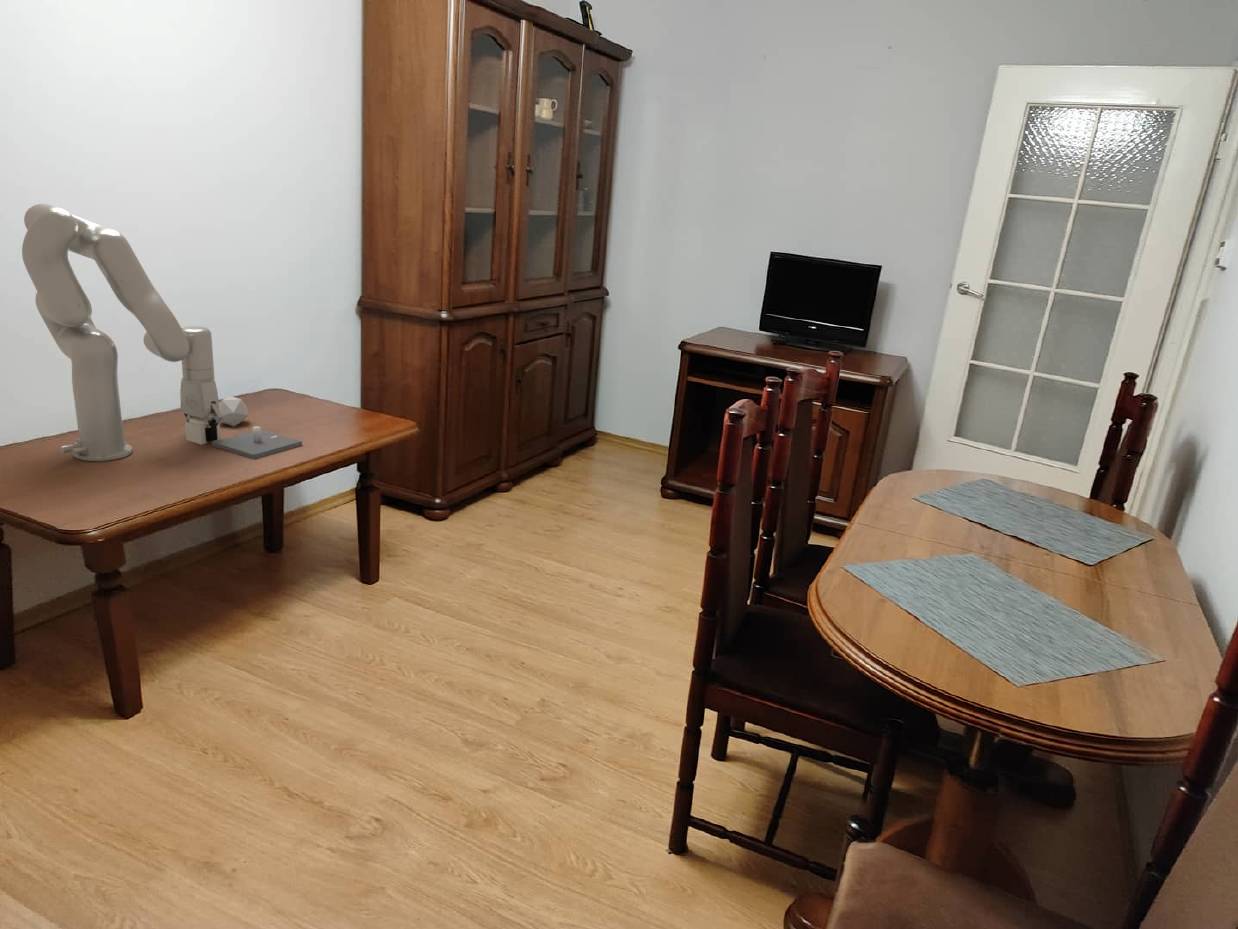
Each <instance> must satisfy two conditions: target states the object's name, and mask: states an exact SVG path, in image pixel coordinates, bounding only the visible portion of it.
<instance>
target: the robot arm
mask: <svg viewBox="0 0 1238 929" xmlns="http://www.w3.org/2000/svg"><path fill="white" fill-rule="evenodd" d="M23 221H24V226H25V228H26V230H27V231H26V233H25V235H24V238H23V242H22V247H21V256H22V257H21V258H22V261H23V264H24V267H25V269H26V272H27V273H28V276H29V278H30V279H31V282H32V285H34V287H35V290H36V291H37V292H36V294H35V300H34V301H35V305H36V309H37V311H38V313H39V315H40V316H41V319H42V320H43V323H44V324H45V326H46V327H47V329H48V331H49V333H50V334H51V337H52V338H53V340H54V341H55V343H56V345H57V346H58V348H59V350H60V351H61V352H62V353H63V355H64V356H66V357H67V358H69V359H70V362H71V387H72V393H73V394H72V395H73V400H74V408H75V415H76V422H77V423H76V424H77V430H78V437H76V438H74V442H72V443H71V444H66V445H61V446H59V447H58V451H59V453H60V454H61V455H64V454H68V453H71V454H72V455H73V457H74V458H76V459H78V460H81V461H88V462H106V461H114V460H118V459H122V458H125V457H129V456H130V455H131V454H132V453H133V447H132V446H131V444H128V443H126V442H125V437H124V428H123V426H124V425H123V420H122V419H123V417H122V409H121V399H120V398H121V397H120V392H119V390H120V389H119V381H118V380H119V379H118V377H119V376H118V364H119V362H118V361H119V360H118V358H119V356H118V354H119V353H118V349H117V346H116V344H115V342H114V340H113V339H112V338H111V337H110V336H109V335H108V334H106V333H105V332H103V331H102V330H100V329H98V328H97V327H96V325H95V323H94V322H93V319H92V315H93V314H92V312H93V308H92V307H93V306H92V304H91V302H90V299H89V298H88V296H87V294H86V293H85V291H84V289H83V287H82V285H81V284H80V282H79V280H78V278H77V276H76V275H75V272H74V269H73V268H72V266H71V263H70V260H69V255H68V253H69V252H72V253H74V254H77V255H80V256H82V257H85V258H88V259H91V260H94V261H95V263H96V265H97V267H98V268H99V270H100V271H101V273H102V275H103V276H104V278H105V280H106V281H107V283H108V284H109V287H110V288H111V291H112V292H113V293H114V295H115V297H116V298H117V300H118V301H119V302H120V304H122V305H123V307H124V308H126V310H127V311H129V312H130V313H131V314H132V315H133V316H134V317H135V318H136V319H137V320H138V322H139V323H140V324H141V325H142V327H143V329H144V330H145V331H146V332H145V333H144V335H143V344H144V346H145V349H146V350H148V351H149V352H150V353H151V354H153V355H155V356H157V357H159V358H161V359H162V360H164V361H168V362H171V363H178V362H180V361H181V369H182V370H181V371H182V377H181V381H180V389H179V390H180V391H179V394H180V398H179V399H180V410H181V412H182V413H183V414H184V416H185V418H186V421H185V422H189V421H190V419H189V418H190V417H192V416H195V417H198V418H204V420H205V423H206V426H207V428H205V434H206V442H210V443H212V442H211V441H215V440H217V439H218V437H217V426H218V424H219V423H220V422H221V421H220V420H221V419H222V418H223V416H222V414H221V412H220V411H219V403H220V399H219V394H218V388H217V383H216V378H215V366H214V354H213V353H214V352H213V351H214V350H213V338H212V332H211V330H210V329H209V327H204V326H198V325H197V326H196V325H195V326H185V327H182V326H181V325H180V323H179V321H178V320H177V318H176V316H175V315H174V313H173V312H172V311H171V309H170V308H169V306H168V305H167V303H166V302H165V301H164V299H163V298H162V296H161V295H160V293H159V292H158V291H157V289H156V288H155V287H154V285H153V283H152V281H151V280H150V278H149V277H148V275H147V273H146V271H145V269H144V267H143V266H142V264H141V263H140V261H139V259H138V257H137V254H136V253H135V252H134V250H133V248H132V246H131V244H130V243H129V241H128V240H127V239H126V237H125V236H124V235H123V234H122V233H121V232H120V231H118V230H115V229H113V228H109V227H106V226H103V225H100V224H97V223H94V222H92V221H89V220H86V219H83V218H81V217H79V216H77V215H74V214H72V213H71V212H70V211H68V210H67V209H64V208H62V207H59V206H56V205H51V204H48V203H47V204H46V203H38V204H34V205H31V207H29V208H28V209H27V211H26V212H25V213H24V217H23ZM209 415H211V416H209ZM209 418H212V420H211V422H210V421H209Z"/></svg>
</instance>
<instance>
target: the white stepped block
mask: <svg viewBox="0 0 1238 929" xmlns="http://www.w3.org/2000/svg"><path fill="white" fill-rule="evenodd" d="M209 416H211V415H209ZM189 419H190V421H189V422H187V421H185V422H184V430H185V439H186V441H188V442H192V443H194V444H198V445H200V446H201V445H205V444H208V443H212V442H213V441H211V442H206V434H205V428H207V426H206V423H205V420H204V418H198V417H195V416H192V417H190V418H189ZM211 420H212V418H209V421H210V422H211ZM220 425H221V424H220V422H219V424H218V426H217V437H218V439H217V440H221V439H222V438H221V426H220ZM217 440H215V441H217Z"/></svg>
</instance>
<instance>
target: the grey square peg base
mask: <svg viewBox="0 0 1238 929" xmlns="http://www.w3.org/2000/svg"><path fill="white" fill-rule="evenodd" d="M300 446H303V441H302V440H299V439H295V438H293V437H288V436H285V435H282V434H280V433H279V434H278V433H274V432H272V431H269V430H265V429H262V427H261V426H252V431H249V432H246V433H242V434H237V435H233V436H229V437H226V438H221V440H217V441H213V442H211V447H213V448H217V449H221V450H222V451H227V452H230V453H232V454H237V455H239V456H243V457H247V458H249V459H253V460H255V459H258V458H263V457H266V456H269V455H272V454H276V453H281V452H283V451H287V450H290V449H294V448H298V447H300Z"/></svg>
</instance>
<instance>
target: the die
mask: <svg viewBox="0 0 1238 929" xmlns="http://www.w3.org/2000/svg"><path fill="white" fill-rule="evenodd" d="M219 411H220V412H221V414H222V416H223V418H222V419H221V420H220V422H221V423H222V424H224V425H228V426H230V427H236V426H238V425H239V424H240V423H242V422H244V420H246V419H247V418H248V417H249V412H248V408H247V405H246V403H245V402H244V401H243V400H242V399H241V398H238V397H235V396H232V395H229V396H228V397H225V398H223V399H221V401H219Z"/></svg>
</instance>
